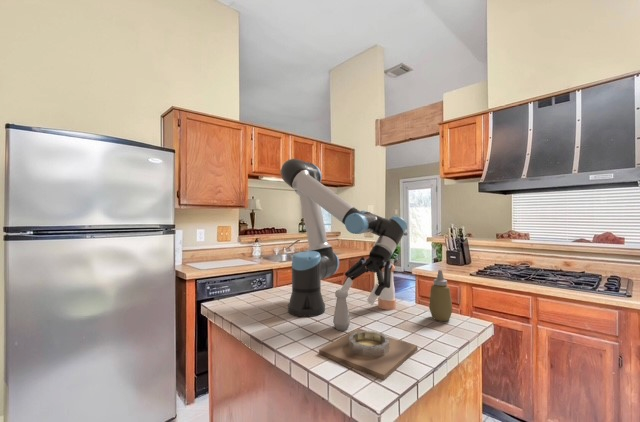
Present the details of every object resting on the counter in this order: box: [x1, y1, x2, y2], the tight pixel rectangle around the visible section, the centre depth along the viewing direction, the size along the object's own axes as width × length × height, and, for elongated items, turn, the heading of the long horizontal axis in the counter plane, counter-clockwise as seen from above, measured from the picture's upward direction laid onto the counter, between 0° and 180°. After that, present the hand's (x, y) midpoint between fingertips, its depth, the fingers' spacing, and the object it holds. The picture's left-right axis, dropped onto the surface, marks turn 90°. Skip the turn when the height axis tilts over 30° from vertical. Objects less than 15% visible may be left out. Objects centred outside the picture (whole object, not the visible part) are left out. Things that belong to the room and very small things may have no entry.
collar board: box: [318, 328, 418, 381], centre depth 81 cm, size 20×20×4 cm
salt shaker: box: [332, 288, 351, 332], centre depth 99 cm, size 6×6×13 cm
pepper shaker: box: [377, 263, 397, 311], centre depth 122 cm, size 7×7×19 cm
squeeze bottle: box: [428, 269, 453, 322], centre depth 108 cm, size 8×8×18 cm
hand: (355, 298), depth 100 cm, fingers open, 13 cm apart
